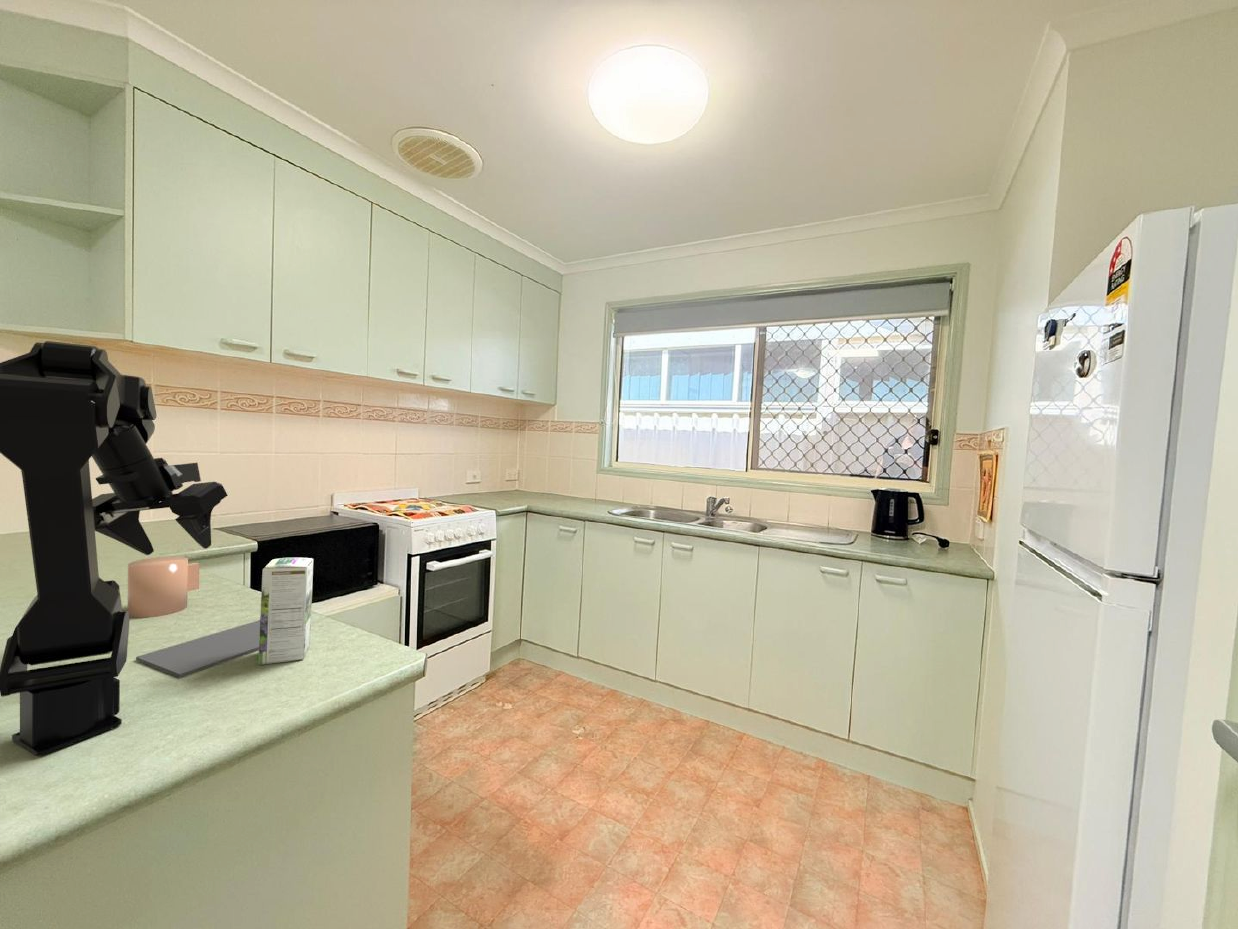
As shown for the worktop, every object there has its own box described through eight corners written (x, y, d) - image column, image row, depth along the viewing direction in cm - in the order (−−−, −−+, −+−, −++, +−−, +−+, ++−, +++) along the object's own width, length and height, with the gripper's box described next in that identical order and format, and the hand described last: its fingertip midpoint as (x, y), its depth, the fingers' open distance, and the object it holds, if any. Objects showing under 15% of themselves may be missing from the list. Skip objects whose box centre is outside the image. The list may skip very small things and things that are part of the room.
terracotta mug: (142, 621, 84) (142, 569, 84) (117, 612, 87) (118, 563, 87) (209, 604, 93) (210, 558, 93) (185, 597, 96) (185, 552, 96)
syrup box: (267, 649, 76) (269, 558, 75) (311, 645, 78) (313, 556, 78) (257, 665, 71) (260, 567, 70) (305, 660, 73) (308, 565, 72)
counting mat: (179, 678, 66) (180, 674, 66) (135, 660, 70) (135, 656, 70) (308, 632, 83) (308, 630, 83) (266, 620, 87) (266, 618, 87)
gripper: (228, 433, 77) (268, 517, 84) (112, 446, 77) (162, 528, 84) (173, 463, 67) (224, 555, 74) (40, 478, 67) (103, 568, 74)
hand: (179, 550), depth 77 cm, fingers open, 9 cm apart
